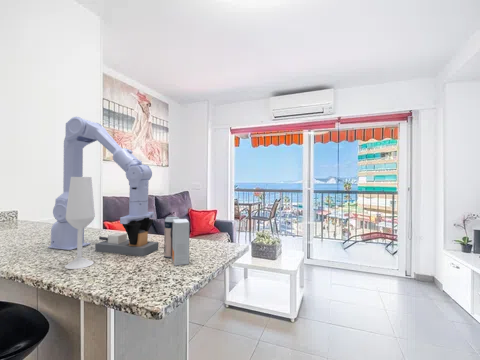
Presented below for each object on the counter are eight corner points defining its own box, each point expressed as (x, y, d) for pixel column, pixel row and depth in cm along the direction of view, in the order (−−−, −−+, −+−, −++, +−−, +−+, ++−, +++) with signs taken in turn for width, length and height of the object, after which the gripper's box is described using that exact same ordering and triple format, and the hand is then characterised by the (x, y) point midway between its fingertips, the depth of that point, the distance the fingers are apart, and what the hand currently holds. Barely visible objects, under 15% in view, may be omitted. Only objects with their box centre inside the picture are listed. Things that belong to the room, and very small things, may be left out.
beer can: (175, 259, 73) (176, 218, 73) (160, 257, 74) (161, 218, 74) (182, 254, 77) (183, 216, 77) (168, 253, 78) (169, 216, 78)
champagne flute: (89, 259, 71) (91, 177, 71) (96, 264, 67) (98, 177, 67) (61, 264, 66) (63, 176, 67) (67, 270, 62) (69, 176, 62)
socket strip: (90, 250, 79) (90, 235, 79) (109, 244, 87) (109, 230, 87) (143, 256, 74) (143, 240, 74) (158, 249, 82) (158, 234, 82)
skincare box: (171, 259, 72) (172, 219, 72) (186, 257, 74) (186, 218, 74) (173, 266, 67) (174, 222, 67) (189, 264, 68) (190, 221, 68)
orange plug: (128, 248, 78) (129, 231, 78) (137, 245, 82) (137, 228, 82) (139, 249, 77) (140, 232, 77) (147, 246, 81) (147, 229, 81)
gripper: (134, 203, 72) (133, 249, 72) (162, 200, 86) (161, 238, 86) (114, 202, 73) (113, 247, 73) (144, 199, 87) (143, 237, 87)
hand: (138, 242), depth 80 cm, fingers closed on orange plug, 4 cm apart
